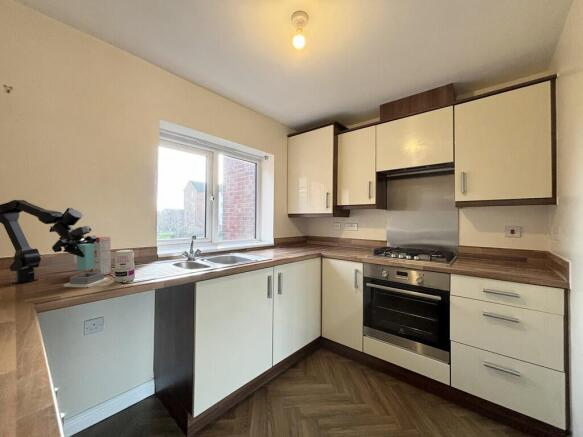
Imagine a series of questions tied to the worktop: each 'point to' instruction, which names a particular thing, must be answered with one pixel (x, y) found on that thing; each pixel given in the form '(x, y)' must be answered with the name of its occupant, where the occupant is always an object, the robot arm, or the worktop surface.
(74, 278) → the mounting plate
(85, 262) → the peg
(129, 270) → the supplement can
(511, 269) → the worktop surface
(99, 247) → the cracker box
